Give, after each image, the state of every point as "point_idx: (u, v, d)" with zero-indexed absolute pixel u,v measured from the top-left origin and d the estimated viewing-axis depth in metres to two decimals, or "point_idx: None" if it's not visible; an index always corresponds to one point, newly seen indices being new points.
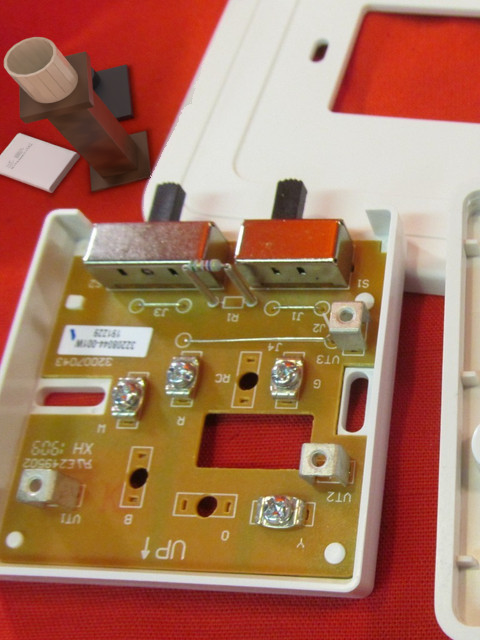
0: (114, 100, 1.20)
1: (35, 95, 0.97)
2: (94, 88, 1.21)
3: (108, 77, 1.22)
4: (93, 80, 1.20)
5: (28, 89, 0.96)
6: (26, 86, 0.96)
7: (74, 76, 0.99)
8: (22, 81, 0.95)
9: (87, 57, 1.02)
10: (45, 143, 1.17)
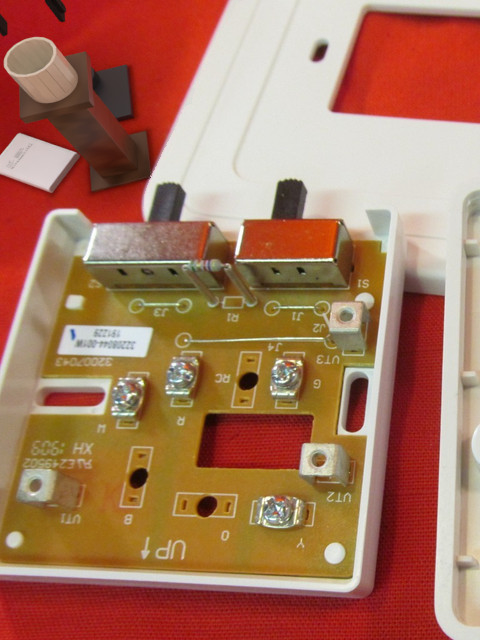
0: (114, 100, 1.20)
1: (35, 95, 0.97)
2: (94, 88, 1.21)
3: (108, 77, 1.22)
4: (93, 80, 1.20)
5: (28, 89, 0.96)
6: (26, 86, 0.96)
7: (74, 76, 0.99)
8: (22, 81, 0.95)
9: (87, 57, 1.02)
10: (45, 143, 1.17)
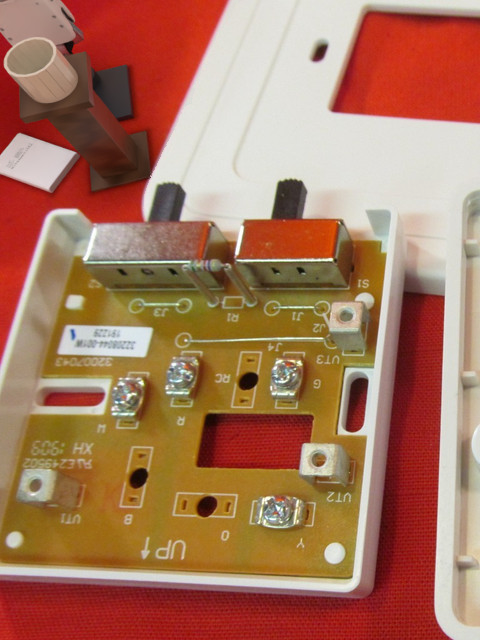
0: (114, 100, 1.20)
1: (35, 95, 0.97)
2: (94, 88, 1.21)
3: (108, 77, 1.22)
4: (93, 80, 1.20)
5: (28, 89, 0.96)
6: (26, 86, 0.96)
7: (74, 76, 0.99)
8: (22, 81, 0.95)
9: (87, 57, 1.02)
10: (45, 143, 1.17)
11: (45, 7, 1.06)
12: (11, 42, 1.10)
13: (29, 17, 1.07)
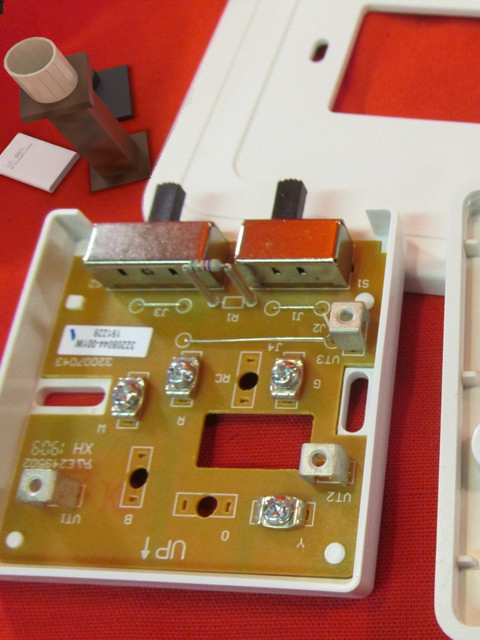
0: (114, 100, 1.20)
1: (35, 95, 0.97)
2: (94, 88, 1.21)
3: (108, 77, 1.22)
4: (93, 80, 1.20)
5: (28, 89, 0.96)
6: (26, 86, 0.96)
7: (74, 76, 0.99)
8: (22, 81, 0.95)
9: (87, 57, 1.02)
10: (45, 143, 1.17)
11: None
12: None
13: None
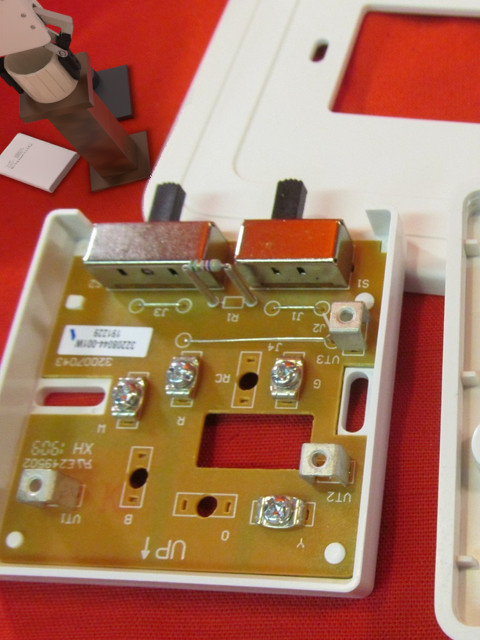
0: (114, 100, 1.20)
1: (35, 95, 0.97)
2: (94, 88, 1.21)
3: (108, 77, 1.22)
4: (93, 80, 1.20)
5: (28, 89, 0.96)
6: (26, 86, 0.96)
7: None
8: (22, 81, 0.95)
9: (87, 57, 1.02)
10: (45, 143, 1.17)
11: (12, 3, 0.86)
12: None
13: None
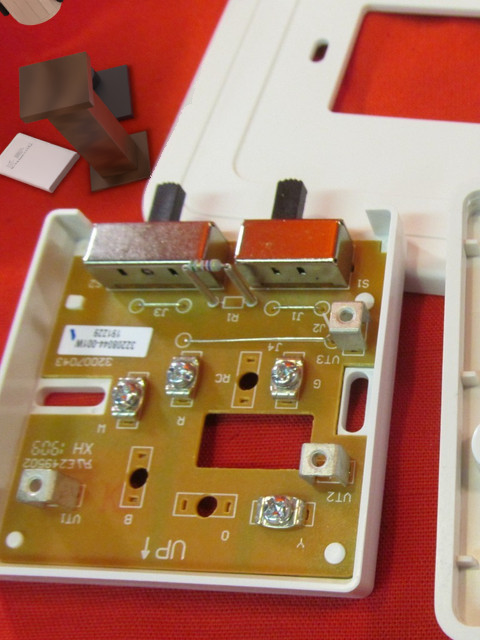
0: (114, 100, 1.20)
1: (19, 16, 1.00)
2: (94, 88, 1.21)
3: (108, 77, 1.22)
4: (93, 80, 1.20)
5: (12, 9, 0.99)
6: (10, 6, 0.98)
7: None
8: (6, 0, 0.97)
9: (87, 57, 1.02)
10: (45, 143, 1.17)
11: None
12: None
13: None
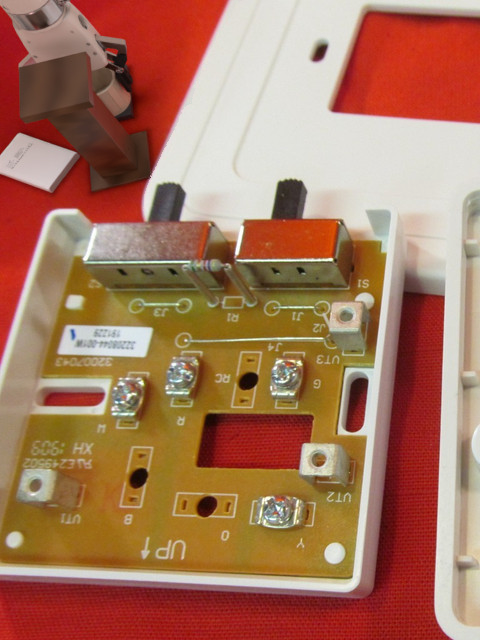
0: None
1: None
2: None
3: None
4: None
5: None
6: None
7: (128, 95, 1.19)
8: None
9: (87, 57, 1.02)
10: (45, 143, 1.17)
11: (80, 35, 1.06)
12: None
13: (63, 45, 1.06)
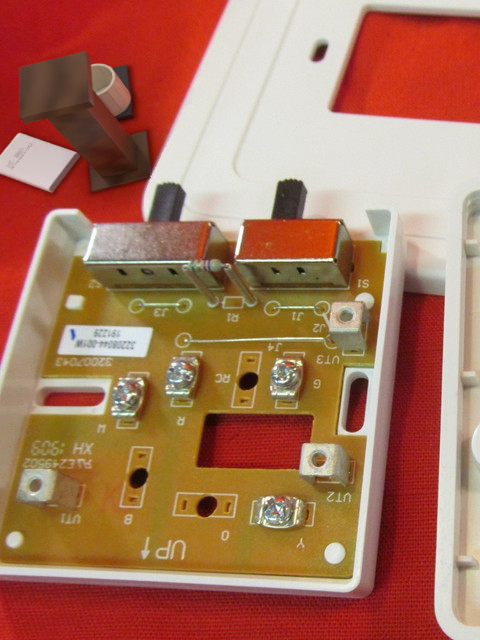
0: None
1: None
2: None
3: None
4: None
5: None
6: None
7: (128, 95, 1.19)
8: None
9: (87, 57, 1.02)
10: (45, 143, 1.17)
11: None
12: None
13: None
